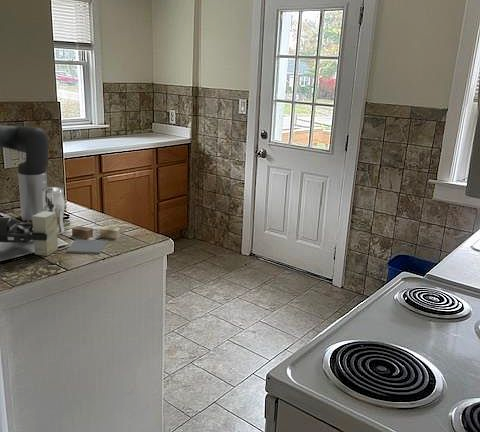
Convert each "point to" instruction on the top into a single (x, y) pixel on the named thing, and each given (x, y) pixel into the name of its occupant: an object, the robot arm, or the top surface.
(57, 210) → the beer glass
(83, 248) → the slate coaster
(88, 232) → the walnut brick
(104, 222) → the top surface
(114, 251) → the top surface
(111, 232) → the beech brick
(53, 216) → the skincare box
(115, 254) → the top surface
